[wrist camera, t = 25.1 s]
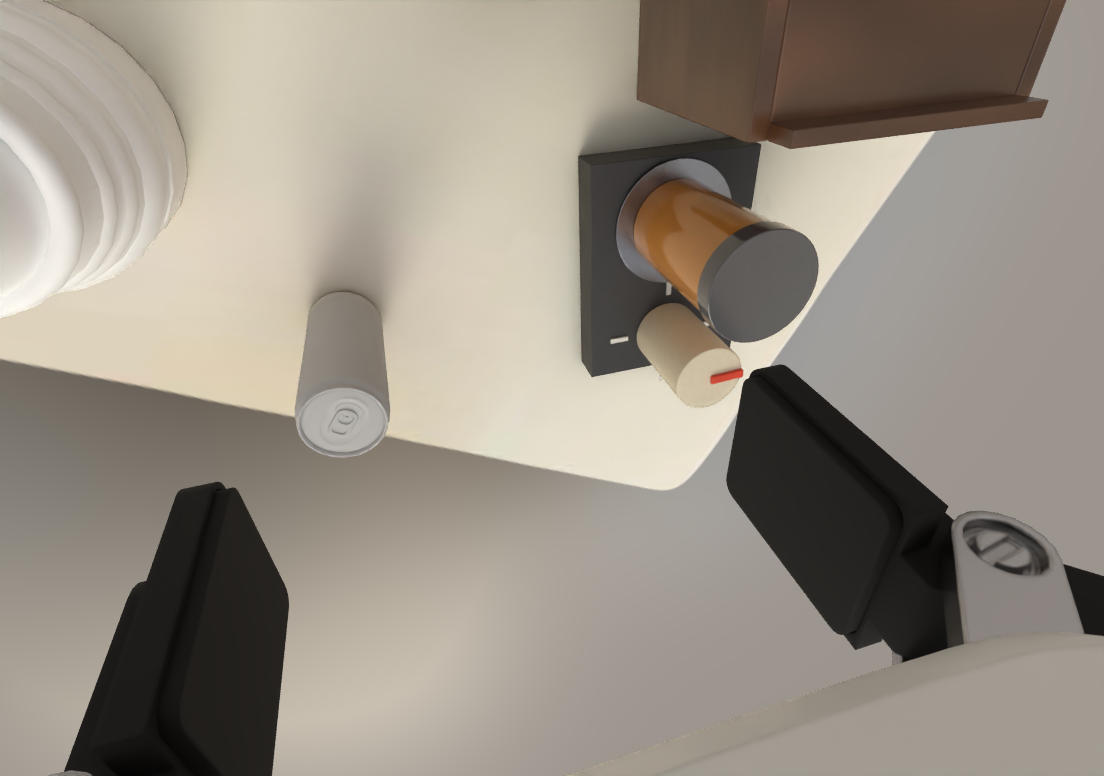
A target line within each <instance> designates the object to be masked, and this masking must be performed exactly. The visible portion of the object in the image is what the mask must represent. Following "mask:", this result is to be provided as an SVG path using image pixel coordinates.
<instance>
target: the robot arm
mask: <svg viewBox="0 0 1104 776" xmlns="http://www.w3.org/2000/svg"><path fill="white" fill-rule="evenodd" d="M726 481H727V486H728V490H729V492H730V494H731V495H732V497H733V498H734V499H735V501H736V502H737V504H738V505H739V506H740V508H741V509H742V510H743V511H744V513H745V514H746V515H747V517H748V518H749V520H750V521H751V522H752V524H753V525H754V526H755V528H756V529H757V530H758V532H759V533H760V534H761V536H762V537H763V538H764V540H765V541H766V542H767V544H768V545H769V546H770V547H771V549H772V550H773V551H774V553H775V554H776V556H777V557H778V558H779V559H780V561H781V562H782V564H783V565H784V566H785V568H786V569H787V570H788V572H789V573H790V574H791V576H792V577H793V578H794V579H795V581H796V582H797V584H798V585H799V586H800V588H801V589H802V590H803V592H804V593H805V594H806V595H807V597H808V598H809V599H810V601H811V602H812V604H813V605H814V606H815V608H816V609H817V610H818V611H819V613H820V614H821V615H822V617H823V618H824V620H825V621H826V622H827V624H828V625H829V626H830V627H831V629H832V630H833V631H835V632H836V633H837V634H840V635H844V636H845V637H846V638H847V640H848V641H849V642H850V644H851V645H852V646H853V648H854V649H855V650H857V649H860V648H863V647H866V646H869V645H872V644H875V643H878V642H881V641H882V639H883V640H884V641H885V642H886V643H887V644H888V646H889V647H890V648H891V650H892V663H893V664H892V666H891V667H887V668H884V669H881V670H878V671H875V672H871V673H869V674H865V675H862V676H860V677H856V678H853V679H850V680H847V681H844V682H841V683H838V684H835V685H832V686H830V687H826V688H823V689H820V690H817V691H815V692H811V693H808V694H806V695H802V696H799V697H796V698H794V699H791V700H788V701H784V702H781V703H779V704H776V705H773V706H770V707H767V708H764V709H761V710H758V711H755V712H752V713H749V714H746V715H743V716H740V717H737V718H734V719H731V720H728V721H725V722H722V723H719V724H716V725H713V726H710V727H707V728H704V729H701V730H698V731H695V732H693V733H690V734H687V735H684V736H681V737H678V738H675V739H672V740H669V741H666V742H663V743H660V744H657V745H654V746H651V747H648V748H645V749H642V750H639V751H637V752H634V753H631V754H628V755H625V756H622V757H619V758H616V759H613V760H610V761H607V762H604V763H601V764H599V765H595V766H593V767H590V768H587V769H584V770H581V771H578V772H575V773H572V774H569V775H566V776H1104V576H1101V575H1098V574H1094V573H1091V572H1088V571H1085V570H1081V569H1078V568H1075V567H1071V566H1068V565H1065V564H1063V563H1062V560H1061V558H1060V556H1059V554H1058V552H1057V550H1056V548H1055V547H1054V546H1053V545H1052V544H1051V543H1050V542H1049V541H1048V540H1047V539H1046V538H1045V536H1043V535H1042V534H1040V533H1039V532H1038V531H1036V530H1035V529H1033V528H1032V527H1030V526H1029V525H1027V524H1025V523H1022V522H1021V521H1019V520H1017V519H1015V518H1012V517H1009V516H1005V515H1002V514H999V513H994V512H987V511H971V512H966V513H964V514H962V515H959V516H958V517H957V518H956V519H955V520H953V519H952V518H951V517H950V516H948V515H947V514H946V513H945V512H946V510H947V508H948V505H946V504H945V503H944V502H943V501H942V500H941V499H939V498H938V497H937V496H936V495H935V494H934V493H933V492H931V491H930V490H929V489H928V488H927V487H926V486H924V485H923V484H922V483H921V482H920V481H919V480H917V479H916V478H915V477H914V476H913V475H912V474H911V473H909V472H908V471H907V470H906V469H905V468H904V467H903V466H901V465H900V464H899V463H898V462H897V461H895V460H894V459H893V458H892V457H891V456H890V455H889V454H887V453H886V452H885V451H884V450H883V449H882V448H881V447H879V446H878V445H877V444H876V443H875V442H874V441H873V440H871V439H870V438H869V437H868V436H867V435H866V434H864V433H863V432H862V431H861V430H860V429H858V428H857V427H856V426H855V425H854V424H853V423H852V422H851V421H849V420H848V419H847V418H846V417H845V416H844V415H842V414H841V413H840V412H839V411H838V410H837V409H836V408H834V407H833V406H832V405H831V404H830V403H829V402H827V401H826V400H825V399H824V398H823V397H822V396H821V395H819V394H818V393H817V392H816V391H815V390H814V389H812V388H811V387H810V386H809V385H808V384H807V383H805V382H804V381H803V380H802V379H801V378H800V377H799V376H797V375H796V374H795V373H794V372H793V371H792V370H790V369H789V368H788V367H787V366H785V365H775V366H771V367H766V368H761V369H756V370H754V371H753V372H752V373H751V374H750V377H749V379H746V380H745V381H744V383H743V387H742V393H741V399H740V404H739V410H738V415H737V421H736V427H735V433H734V439H733V444H732V449H731V455H730V461H729V466H728V472H727V479H726ZM288 610H289V599H288V593H287V589H286V587H285V584H284V583H283V580H282V578H281V576H280V575H279V572H278V570H277V568H276V566H275V564H274V562H273V560H272V558H271V556H270V554H269V552H268V550H267V548H266V546H265V544H264V542H263V541H262V538H261V536H260V534H259V532H258V530H257V528H256V526H255V524H254V522H253V520H252V518H251V516H250V514H249V512H248V510H247V508H246V506H245V504H244V502H243V500H242V498H241V496H240V494H239V492H238V491H237V489H236V488H229V489H226V488H225V487H224V485H223V484H222V483H221V482H214V483H209V484H204V485H200V486H195V487H190V488H186V489H181V490H180V491H179V492H178V493H177V495H176V497H175V500H174V503H173V506H172V509H171V512H170V515H169V517H168V520H167V524H166V526H165V529H164V532H163V535H162V538H161V540H160V544H159V546H158V549H157V552H156V555H155V558H154V561H153V563H152V567H151V569H150V573H149V575H148V578H147V581H144V582H140V583H138V584H137V585H136V586H135V587H134V588H133V589H132V591H131V593H130V595H129V597H128V599H127V602H126V604H125V607H124V610H123V613H122V615H121V618H120V621H119V623H118V626H117V629H116V632H115V634H114V637H113V640H112V642H111V645H110V648H109V651H108V653H107V656H106V659H105V661H104V664H103V667H102V670H101V672H100V675H99V678H98V680H97V683H96V686H95V689H94V691H93V694H92V697H91V700H90V702H89V705H88V708H87V710H86V713H85V716H84V719H83V721H82V724H81V727H80V729H79V732H78V735H77V738H76V740H75V743H74V746H73V748H72V751H71V754H70V757H69V759H68V762H67V765H66V767H65V770H64V772H61V773H57V774H52V775H50V776H272V769H273V759H274V749H275V740H276V730H277V719H278V710H279V700H280V690H281V680H282V670H283V660H284V650H285V641H286V631H287V621H288Z"/></svg>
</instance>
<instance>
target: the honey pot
mask: <svg viewBox="0 0 1104 776" xmlns="http://www.w3.org/2000/svg"><path fill="white" fill-rule="evenodd" d="M186 180H187V165H186V153H185V144H184V141H183V138H182V136H181V133H180V130H179V127H178V124H177V122H176V119H175V116H174V113H173V111H172V110H171V108H170V106H169V105H168V103H167V102H166V100H165V99H164V97H163V95H162V94H161V92H160V91H159V89H158V88H157V86H156V84H155V83H154V81H153V80H152V78H151V77H150V76H149V75H148V74H147V73H146V72H145V71H144V70H143V69H142V68H141V67H140V66H139V65H138V64H137V63H136V62H135V61H134V60H133V58H132V57H131V56H130V55H129V54H128V53H127V52H126V51H125V50H124V49H123V48H122V47H121V46H120V45H118V44H117V43H115V42H114V41H113V40H111V39H110V38H108V37H107V36H106V35H104V34H103V33H101V32H100V31H99V30H97V29H96V28H94V27H93V26H92V25H90V24H89V23H87V22H86V21H85V20H83V19H81V18H79V17H77V16H75V15H73V14H70V13H68V12H66V11H64V10H62V9H60V8H57V7H55V6H53V5H51V4H49V3H47V2H44V1H42V0H0V318H5V317H9V316H11V315H14V314H17V313H19V312H22V311H24V310H27V309H30V308H32V307H35V306H38V305H40V304H41V303H43V302H44V301H45V300H47V299H48V298H49V297H50V296H52V295H54V294H57V293H62V292H66V291H74V290H82V289H84V288H87V287H90V286H92V285H95V284H97V283H100V282H103V281H105V280H108V279H111V278H113V277H115V276H117V275H119V274H120V273H122V272H123V271H124V270H126V269H127V268H128V267H129V266H131V265H132V264H133V263H135V262H136V261H137V260H138V259H140V258H141V257H142V256H143V255H144V253H145V252H146V251H147V250H148V249H149V247H150V246H151V245H152V244H153V242H154V241H155V240H156V239H157V237H158V236H159V235H160V234H161V232H162V231H163V230H164V228H165V227H166V226H167V224H168V223H169V221H170V220H171V218H172V217H173V215H174V214H175V212H176V210H177V209H178V207H179V206H180V204H181V201H182V197H183V193H184V188H185V184H186Z"/></svg>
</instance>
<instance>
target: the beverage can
mask: <svg viewBox="0 0 1104 776" xmlns="http://www.w3.org/2000/svg"><path fill="white" fill-rule="evenodd" d="M389 418H390V403H389V393H388V382H387V371H386V361H385V350H384V339H383V329H382V321H381V317H380V314H379V312H378V310H377V309H376V307H375V306H374V305H373V304H372V303H371V302H370V301H369V300H367V299H366V298H364V297H362V296H361V295H357V294H354V293H351V292H336V293H331V294H328V295H326V296H323V297H322V298H320V299H319V300H318V301H316V302H315V303H314V305H313V306H312V308H311V309H310V312H309V316H308V321H307V329H306V337H305V345H304V352H303V359H302V365H301V371H300V378H299V384H298V390H297V397H296V405H295V421H296V424H297V430H298V432H299V435H300V437H301V439H302V440H303V441H304V442H305V443H306V445H308V446H309V447H310V448H312V449H313V450H314V451H316V452H319V453H321V454H324V455H327V456H332V457H351V456H355V455H360V454H362V453H364V452H367V451H369V450H371V449H372V448H373V447H375V446H376V445H377V444H378V443H379V442H380V441H381V440H382V438H383V437H384V435H385V433H386V431H387V428H388V422H389Z"/></svg>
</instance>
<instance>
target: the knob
mask: <svg viewBox="0 0 1104 776" xmlns="http://www.w3.org/2000/svg"><path fill="white" fill-rule="evenodd" d="M637 344H638V347H639V349H640V350H641V352H642V353H643V354H644V355H645V357H646V358H647V359H648V360H649V362H650V363H651V364H652V365H653V367H654V368H655V369H656V370H657V372H658V373H659V374H660V375H661V377H662V378H663V379H664V380H665V382H666V383H667V384H668V385H669V387H670V388H671V389H672V390H673V392H674V393H675V394H676V395H677V397H678V398H679V399H680V400H681V401H682V402H683V403H684V404H685V405H687V406H690V407H694V408H703V407H708V406H711V405H713V404H715V403H717V402H719V401H721V400H722V399H724V398H725V397H726V396H727V395H728V394H729V393H730V392H731V391H732V390H733V389H734V387H735V386H736V384H737V382H738V380H739V378H740V377H743V370H742V369H741V363H740V359H739V357H738V356H737V354H736V353H735V352H733V351H732V350H731V349H730V348H729V347H728V346H727V345H726V344H725V343H724V342H723V341H722V340H721V339H720V338H719V337H718V336H717V335H716V334H715V333H713V332H712V331H711V330H710V329H709V328H708V327H707V326H706V325H705V324H704V323H703V322H702V321H701V320H700V319H699V318H698V317H697V316H696V315H694V314H693V313H692V312H691V311H690V310H689V309H688V308H687V307H686V306H684V305H682V304H678V303H667V304H663V305H661V306H658V307H656V308H655V309H653V310H652V311H650V312H649V313H648V314H647V315H646V316H645V317H644V319H643V320H642V322H641V323H640V326H639V328H638V331H637Z"/></svg>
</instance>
